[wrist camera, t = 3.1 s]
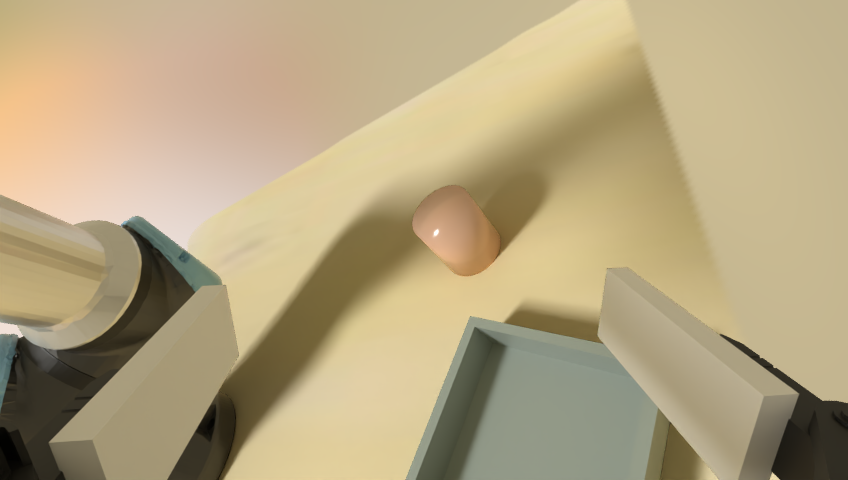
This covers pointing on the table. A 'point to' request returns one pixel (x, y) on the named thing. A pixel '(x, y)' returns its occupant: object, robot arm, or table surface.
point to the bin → (539, 412)
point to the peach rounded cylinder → (457, 231)
